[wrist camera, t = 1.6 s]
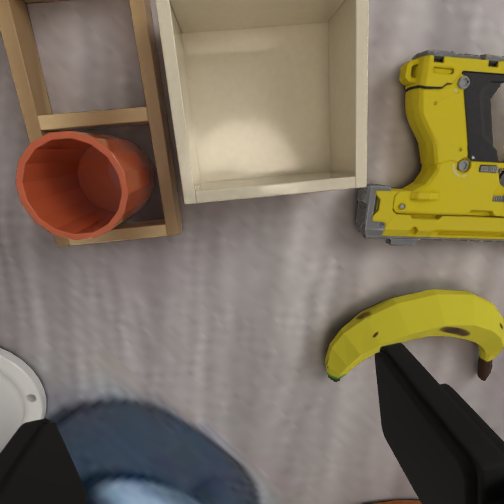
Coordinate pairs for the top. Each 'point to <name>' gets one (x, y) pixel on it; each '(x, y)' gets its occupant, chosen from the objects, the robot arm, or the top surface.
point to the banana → (418, 328)
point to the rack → (43, 121)
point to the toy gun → (444, 156)
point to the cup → (83, 182)
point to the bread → (400, 502)
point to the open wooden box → (267, 95)
